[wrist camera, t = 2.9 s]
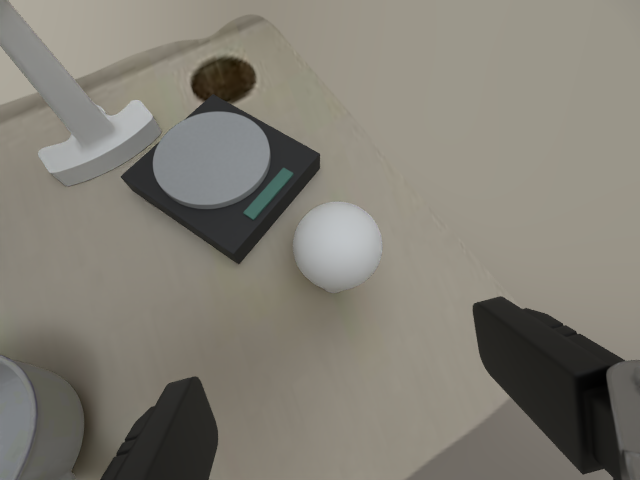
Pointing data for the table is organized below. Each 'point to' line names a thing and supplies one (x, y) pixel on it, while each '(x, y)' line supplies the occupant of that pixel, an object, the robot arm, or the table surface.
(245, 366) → the table surface
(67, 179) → the joystick
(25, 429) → the teacup
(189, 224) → the scale
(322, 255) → the lightbulb
